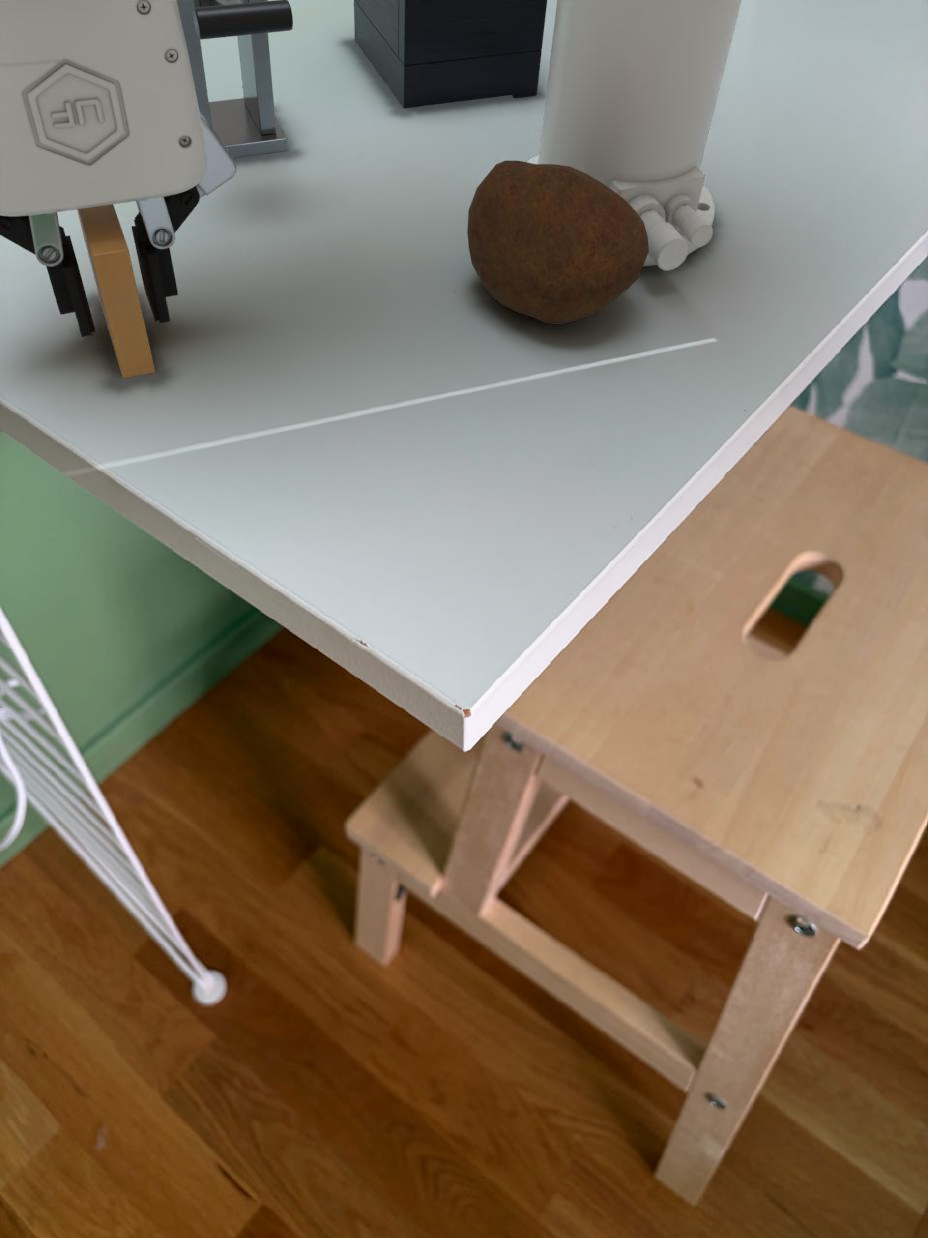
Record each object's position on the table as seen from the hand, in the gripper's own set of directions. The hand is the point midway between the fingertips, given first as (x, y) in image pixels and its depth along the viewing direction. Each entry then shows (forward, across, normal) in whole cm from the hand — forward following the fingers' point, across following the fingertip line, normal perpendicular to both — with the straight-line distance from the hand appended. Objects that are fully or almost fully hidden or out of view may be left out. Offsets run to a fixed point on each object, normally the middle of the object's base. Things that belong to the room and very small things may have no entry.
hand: (120, 310), depth 52 cm
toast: (+2, 0, 0) cm, 2 cm away
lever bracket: (+2, +10, +19) cm, 22 cm away
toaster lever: (-6, +10, +15) cm, 19 cm away
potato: (+2, +22, -4) cm, 22 cm away
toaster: (+2, +27, +25) cm, 37 cm away
